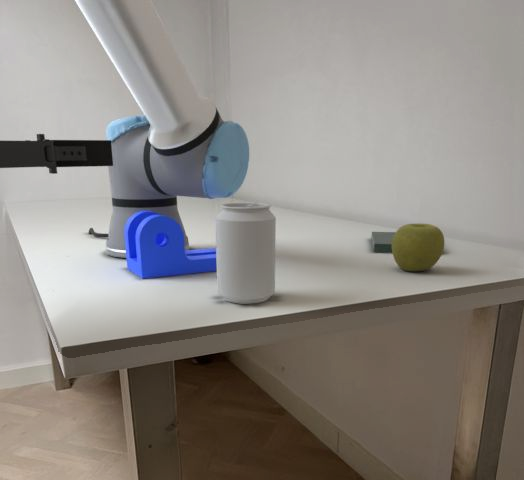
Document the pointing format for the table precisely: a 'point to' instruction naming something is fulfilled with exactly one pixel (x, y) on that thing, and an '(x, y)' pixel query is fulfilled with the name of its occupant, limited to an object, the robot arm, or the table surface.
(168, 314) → the table surface
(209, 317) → the table surface
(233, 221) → the can
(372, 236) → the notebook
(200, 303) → the table surface
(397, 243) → the apple
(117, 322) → the table surface
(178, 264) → the bracket
